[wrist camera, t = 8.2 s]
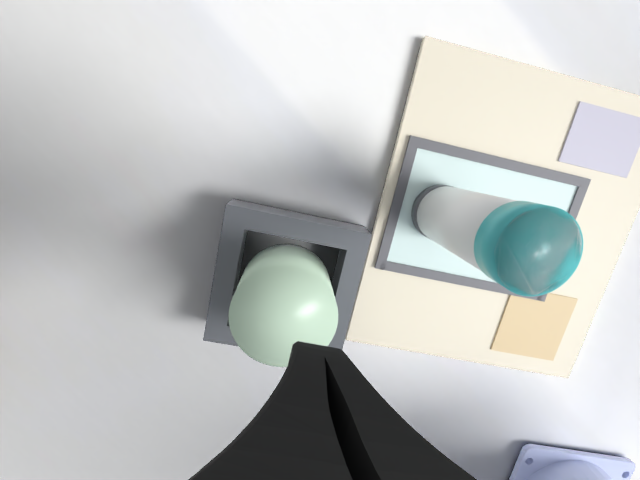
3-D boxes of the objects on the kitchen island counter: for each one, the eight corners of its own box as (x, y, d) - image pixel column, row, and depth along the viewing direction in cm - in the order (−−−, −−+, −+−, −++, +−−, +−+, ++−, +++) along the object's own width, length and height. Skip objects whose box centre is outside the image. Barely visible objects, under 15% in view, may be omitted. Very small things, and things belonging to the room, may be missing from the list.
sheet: (563, 374, 22) (570, 380, 22) (345, 336, 21) (346, 341, 20) (673, 108, 19) (685, 106, 18) (422, 38, 17) (427, 34, 17)
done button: (319, 334, 19) (325, 374, 15) (234, 319, 18) (220, 357, 15) (339, 253, 18) (349, 277, 14) (249, 235, 17) (238, 256, 14)
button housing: (334, 343, 21) (338, 362, 19) (212, 322, 20) (202, 340, 18) (364, 226, 19) (372, 234, 17) (233, 198, 19) (226, 204, 17)
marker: (455, 243, 19) (563, 303, 12) (404, 233, 19) (480, 287, 11) (472, 190, 19) (597, 216, 11) (418, 178, 18) (510, 196, 11)
